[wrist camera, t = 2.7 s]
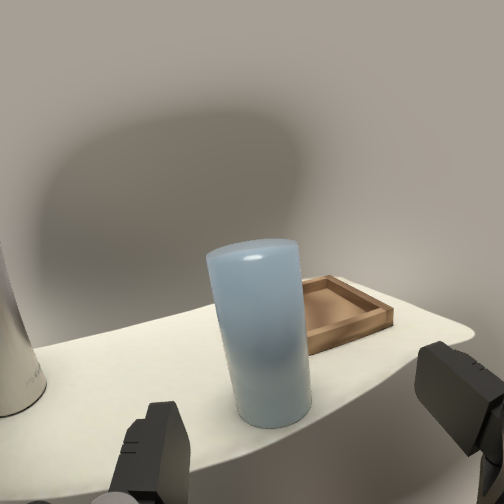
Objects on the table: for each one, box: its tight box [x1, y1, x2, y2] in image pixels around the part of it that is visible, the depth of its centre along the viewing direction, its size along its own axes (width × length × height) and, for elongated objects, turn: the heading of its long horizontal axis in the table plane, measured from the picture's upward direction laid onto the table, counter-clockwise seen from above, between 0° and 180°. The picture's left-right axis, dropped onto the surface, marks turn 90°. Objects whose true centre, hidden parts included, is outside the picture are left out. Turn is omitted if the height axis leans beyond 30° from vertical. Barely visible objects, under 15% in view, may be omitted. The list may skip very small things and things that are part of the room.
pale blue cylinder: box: [206, 239, 312, 428], centre depth 21 cm, size 6×6×12 cm
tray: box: [302, 275, 394, 355], centre depth 35 cm, size 12×14×2 cm
